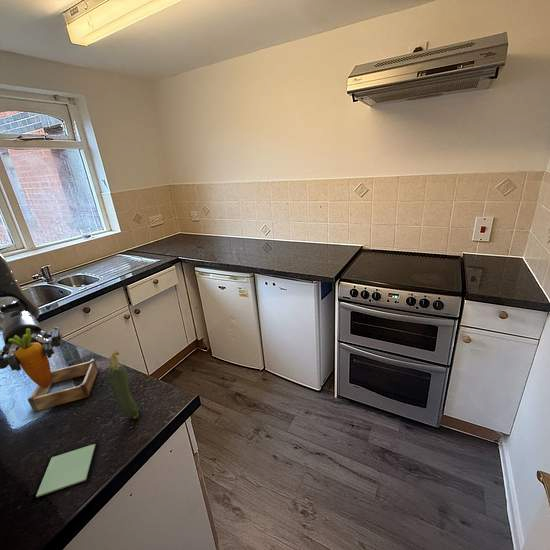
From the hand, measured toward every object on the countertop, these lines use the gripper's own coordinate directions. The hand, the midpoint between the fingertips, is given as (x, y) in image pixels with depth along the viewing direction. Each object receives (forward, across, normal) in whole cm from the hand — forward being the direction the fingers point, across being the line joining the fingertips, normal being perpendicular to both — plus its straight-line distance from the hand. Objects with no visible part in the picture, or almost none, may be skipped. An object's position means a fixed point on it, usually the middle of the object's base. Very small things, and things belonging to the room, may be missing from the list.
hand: (33, 360), depth 63 cm
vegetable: (+5, +13, +24) cm, 28 cm away
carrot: (-3, 0, +9) cm, 10 cm away
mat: (+8, -2, +24) cm, 25 cm away
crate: (-22, +4, +24) cm, 33 cm away
